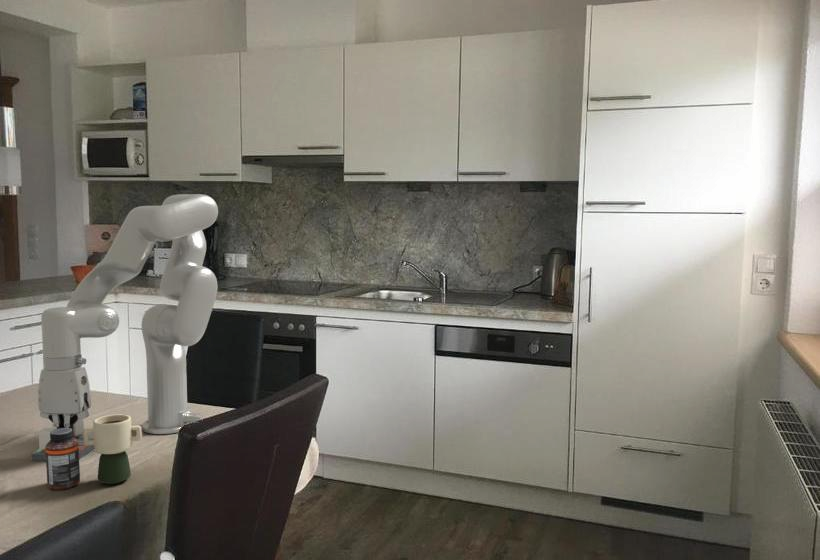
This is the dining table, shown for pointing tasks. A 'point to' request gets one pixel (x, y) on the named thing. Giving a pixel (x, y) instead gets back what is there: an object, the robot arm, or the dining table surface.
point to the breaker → (78, 427)
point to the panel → (83, 449)
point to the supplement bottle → (62, 460)
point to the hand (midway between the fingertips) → (65, 442)
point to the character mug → (112, 446)
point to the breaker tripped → (45, 436)
